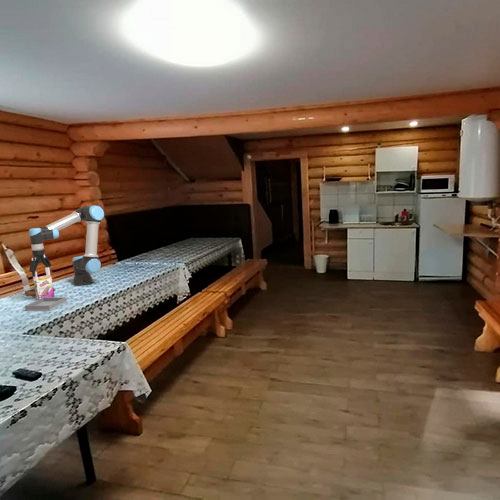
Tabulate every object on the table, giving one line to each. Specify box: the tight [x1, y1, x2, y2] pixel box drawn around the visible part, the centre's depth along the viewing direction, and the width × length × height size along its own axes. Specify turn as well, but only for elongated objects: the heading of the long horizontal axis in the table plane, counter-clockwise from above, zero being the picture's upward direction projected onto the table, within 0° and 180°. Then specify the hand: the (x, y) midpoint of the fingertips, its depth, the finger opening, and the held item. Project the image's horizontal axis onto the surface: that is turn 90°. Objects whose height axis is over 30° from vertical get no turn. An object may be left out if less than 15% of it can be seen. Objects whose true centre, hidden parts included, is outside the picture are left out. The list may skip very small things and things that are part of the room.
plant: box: [24, 285, 56, 298], centre depth 299 cm, size 20×20×11 cm
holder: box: [24, 296, 68, 312], centre depth 262 cm, size 18×18×4 cm
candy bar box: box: [33, 274, 56, 301], centre depth 281 cm, size 11×5×16 cm, turn 134°
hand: (42, 278), depth 279 cm, fingers open, 13 cm apart
